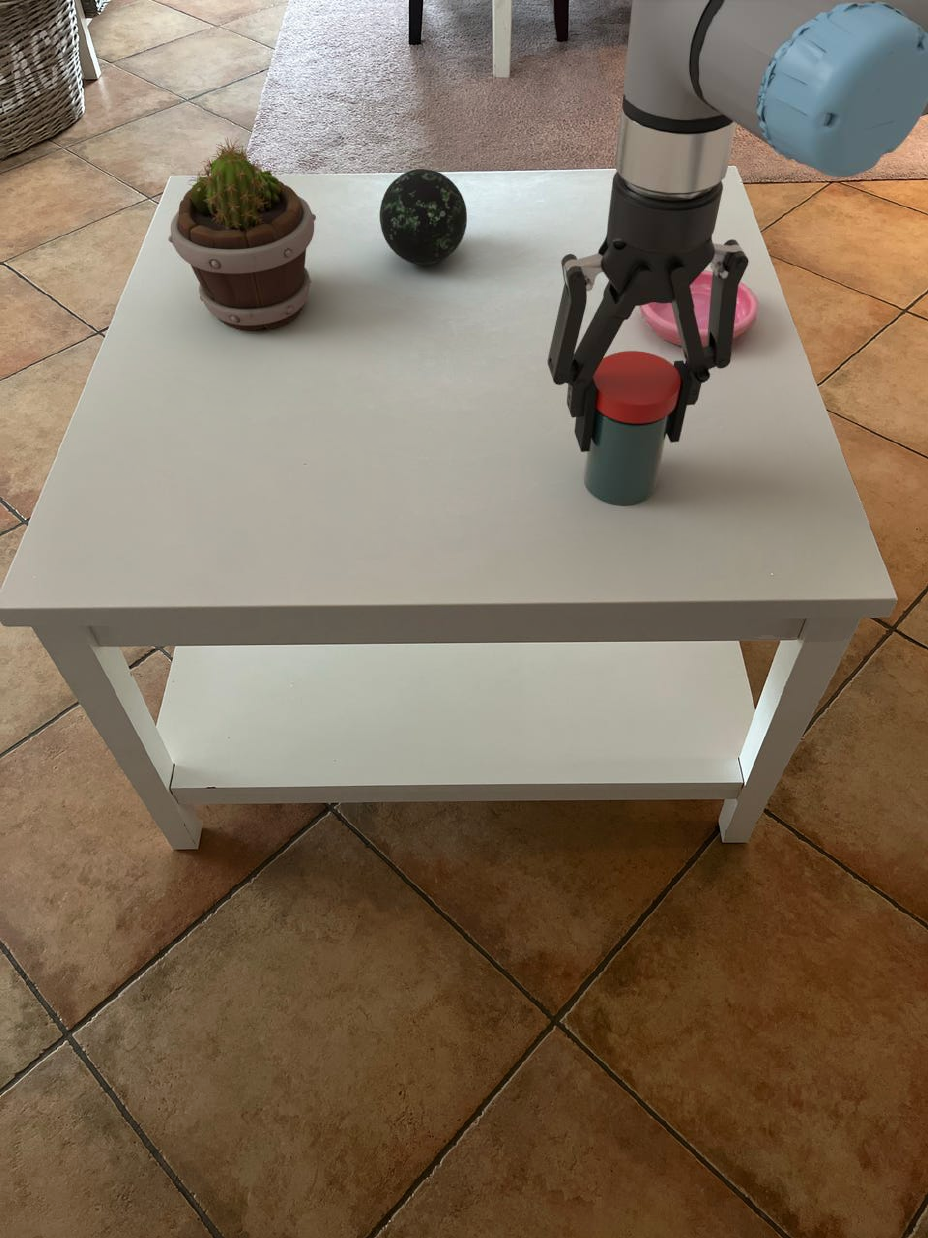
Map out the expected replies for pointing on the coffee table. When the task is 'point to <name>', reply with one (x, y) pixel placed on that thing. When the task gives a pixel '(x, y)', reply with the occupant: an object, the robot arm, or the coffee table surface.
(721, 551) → the coffee table surface
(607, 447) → the lidded canister
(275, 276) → the flowerpot
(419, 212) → the decorative stone
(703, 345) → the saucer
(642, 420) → the jam lid
